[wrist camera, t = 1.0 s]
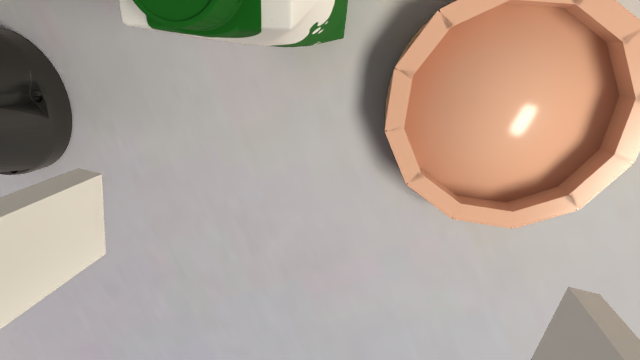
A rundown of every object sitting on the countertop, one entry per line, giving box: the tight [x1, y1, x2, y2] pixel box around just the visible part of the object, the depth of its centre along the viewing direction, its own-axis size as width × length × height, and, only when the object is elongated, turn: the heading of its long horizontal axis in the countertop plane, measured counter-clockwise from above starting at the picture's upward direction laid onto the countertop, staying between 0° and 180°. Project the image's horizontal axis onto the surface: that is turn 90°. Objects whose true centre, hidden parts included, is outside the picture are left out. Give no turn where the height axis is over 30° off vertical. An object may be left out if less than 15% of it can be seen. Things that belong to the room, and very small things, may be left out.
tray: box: [385, 0, 640, 228], centre depth 29 cm, size 19×19×3 cm
